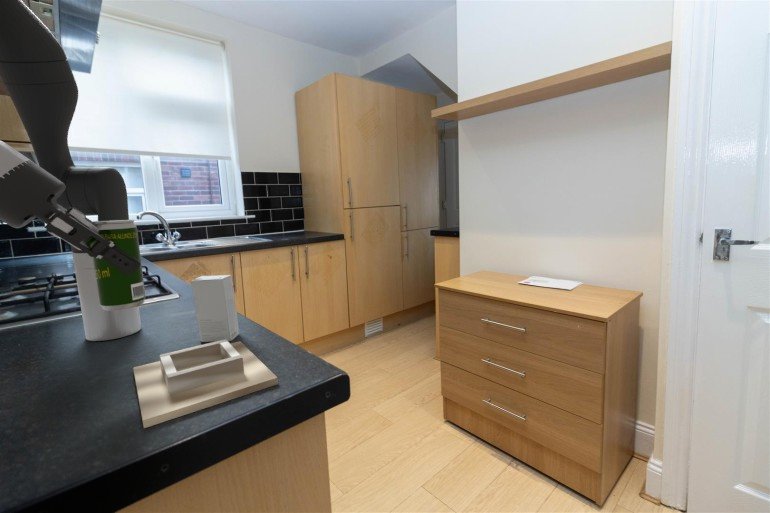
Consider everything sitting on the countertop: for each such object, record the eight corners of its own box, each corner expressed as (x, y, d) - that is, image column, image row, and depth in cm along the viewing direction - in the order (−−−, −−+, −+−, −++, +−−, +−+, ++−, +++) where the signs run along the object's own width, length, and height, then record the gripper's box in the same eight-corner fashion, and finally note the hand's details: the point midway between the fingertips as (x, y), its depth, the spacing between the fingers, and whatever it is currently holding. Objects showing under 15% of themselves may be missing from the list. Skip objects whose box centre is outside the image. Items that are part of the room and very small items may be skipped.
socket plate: (134, 373, 57) (131, 352, 56) (240, 346, 66) (238, 327, 66) (143, 428, 43) (139, 400, 42) (277, 384, 52) (276, 360, 52)
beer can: (153, 299, 55) (144, 219, 53) (132, 310, 50) (120, 221, 48) (116, 301, 55) (104, 220, 53) (90, 312, 50) (77, 222, 48)
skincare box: (240, 333, 73) (234, 273, 71) (230, 342, 69) (224, 278, 67) (209, 334, 73) (202, 274, 71) (197, 343, 69) (190, 279, 67)
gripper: (15, 151, 39) (159, 251, 48) (38, 164, 51) (151, 242, 60) (-49, 202, 37) (114, 298, 46) (-10, 204, 49) (115, 279, 57)
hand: (134, 266), depth 53 cm, fingers closed on beer can, 5 cm apart
